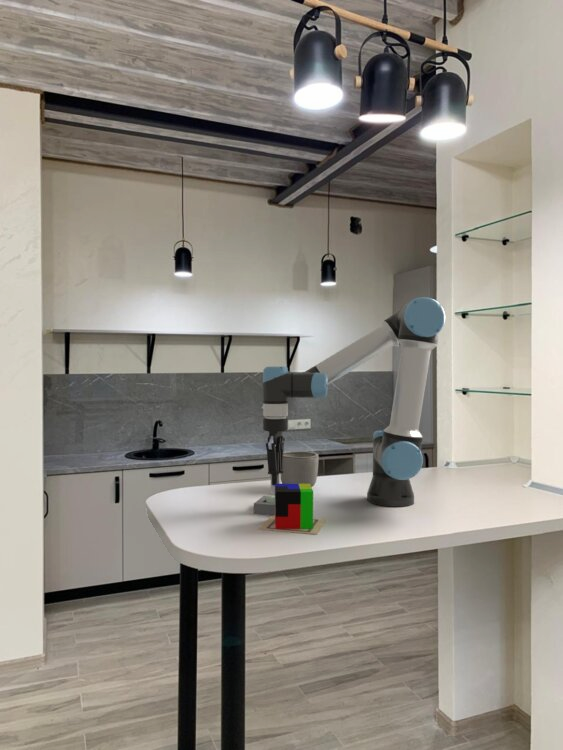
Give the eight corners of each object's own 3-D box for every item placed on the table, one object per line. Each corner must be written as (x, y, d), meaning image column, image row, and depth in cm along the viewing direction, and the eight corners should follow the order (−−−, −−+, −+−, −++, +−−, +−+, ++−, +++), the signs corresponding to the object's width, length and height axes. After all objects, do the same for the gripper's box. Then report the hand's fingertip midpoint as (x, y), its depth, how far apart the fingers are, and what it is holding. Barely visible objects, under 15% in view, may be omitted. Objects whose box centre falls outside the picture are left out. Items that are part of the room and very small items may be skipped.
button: (284, 508, 168) (284, 497, 168) (280, 512, 163) (280, 500, 163) (269, 507, 169) (269, 495, 169) (264, 511, 164) (264, 499, 164)
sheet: (325, 520, 156) (325, 519, 155) (316, 534, 143) (316, 533, 143) (271, 516, 160) (271, 515, 160) (258, 529, 147) (258, 528, 147)
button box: (294, 507, 170) (294, 497, 170) (286, 516, 160) (286, 505, 160) (263, 505, 172) (263, 495, 172) (253, 513, 163) (253, 503, 163)
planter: (272, 493, 188) (272, 455, 188) (287, 485, 201) (287, 449, 201) (310, 497, 183) (311, 458, 183) (323, 488, 196) (323, 452, 196)
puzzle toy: (274, 518, 156) (275, 483, 156) (309, 518, 157) (310, 483, 157) (275, 529, 146) (275, 491, 146) (312, 529, 147) (313, 491, 147)
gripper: (269, 415, 173) (269, 489, 173) (257, 419, 160) (257, 499, 161) (292, 415, 171) (292, 491, 171) (281, 419, 158) (282, 501, 159)
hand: (275, 495), depth 166 cm, fingers closed
